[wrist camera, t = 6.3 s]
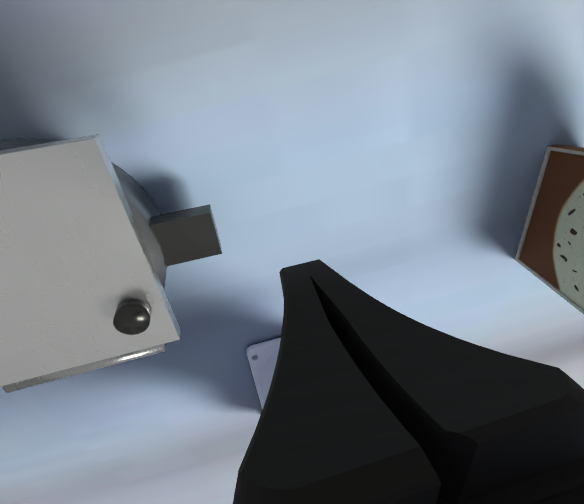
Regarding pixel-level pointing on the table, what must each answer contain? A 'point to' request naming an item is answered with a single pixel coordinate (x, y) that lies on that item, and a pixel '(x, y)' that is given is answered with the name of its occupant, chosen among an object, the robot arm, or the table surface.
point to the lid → (72, 267)
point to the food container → (557, 225)
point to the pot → (160, 222)
